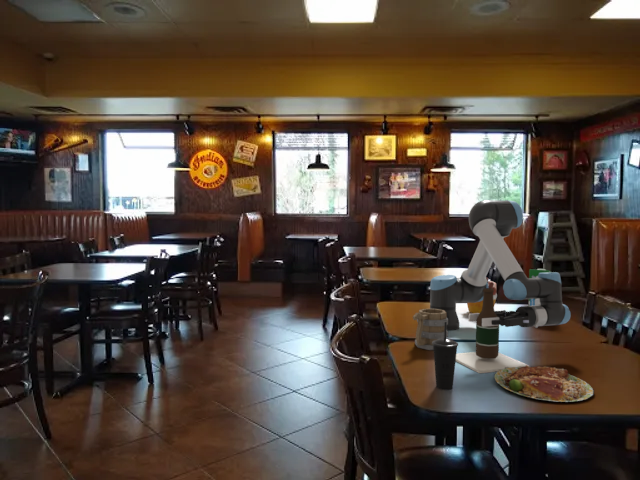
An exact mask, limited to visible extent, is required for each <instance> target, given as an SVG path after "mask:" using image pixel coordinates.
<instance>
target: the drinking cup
mask: <svg viewBox="0 0 640 480" xmlns="http://www.w3.org/2000/svg"><path fill="white" fill-rule="evenodd" d="M447 331H448V330H447V322H444V338H440V339H437V340H434V341H433V342H432V344H433V349H434V350H433V359H434V360H433V362H434V374H435V386H436V388H437V389H440V390H446V391H447V390H448V391H449V390H452V389H453V387H454V377H455V370H456V354H457V352H458V351H457V350H458V346H459V343H458V342H457V341H455V340H454V339H451V338H448V337H446V334H447Z"/></svg>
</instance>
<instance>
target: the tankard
mask: <svg viewBox="0 0 640 480" xmlns="http://www.w3.org/2000/svg"><path fill="white" fill-rule="evenodd" d="M412 319H413V321H416V322H417V327H416V330H415V331H416V332H415V339H414V344H415V346H416V347H417V348H418V349H423V350H425V351H426V350H427V351H434V349H433V344H432V342H433V341H434V340H437V339H440V338H444V322H447V325H448V318H447V313H446V312H445V311H444V310H440V309H430V308H423V309H419V310H418V312H415V314H414V315H413V316H412ZM448 337H449V330H447V334H446V338H448Z"/></svg>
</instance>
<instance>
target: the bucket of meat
mask: <svg viewBox="0 0 640 480" xmlns="http://www.w3.org/2000/svg"><path fill="white" fill-rule="evenodd" d="M486 279H487V283H488V288H492V289H494V292H493V301H494V306H495V304H496V300H497V297H498V294H497V283H496V282H494V281H492V280H489V277H487V276H486ZM466 305H467V308H468V312H469V314H475V313H480V312H481V311H482V306H483V300H482V301H480V302H475V303H466Z"/></svg>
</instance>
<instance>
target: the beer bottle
mask: <svg viewBox="0 0 640 480" xmlns="http://www.w3.org/2000/svg"><path fill="white" fill-rule="evenodd" d="M483 292H484V295H483V306H482V311H481V312H480V314H479V315H478V318H477V321H475V322H476V323H475V352H476V355H477V356H479V357H481V358H487V359H493V358H496V357H498V352H499V350H500V349H499V348H500V346H499V345H500V325H499V326H486V327H483V326H482V318H496V317H498V316H497V315H496V313H495V312H494V311H495V305H494V301H493V292H494V289H492V288H484V289H483ZM499 353H500V352H499Z"/></svg>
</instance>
